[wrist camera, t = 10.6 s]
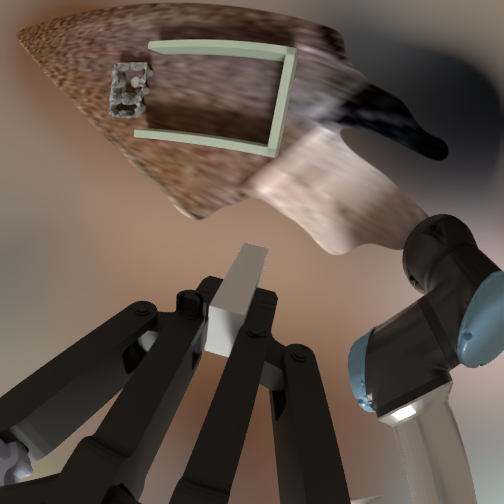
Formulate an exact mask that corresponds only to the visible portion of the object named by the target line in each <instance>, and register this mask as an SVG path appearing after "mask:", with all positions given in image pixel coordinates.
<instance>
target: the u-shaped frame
mask: <svg viewBox="0 0 504 504" xmlns="http://www.w3.org/2000/svg"><path fill="white" fill-rule="evenodd" d="M148 49H151V50H154V51H156V52H159V53H161V54H211V55H228V56H241V57H251V58H259V59H267V60H274V61H281V62H284V66H283V71H282V76H281V82H280V87H279V92H278V97H277V102H276V107H275V112H274V117H273V122H272V127H271V133H270V138H269V143H268V145H267V144H262V143H257V142H252V141H246V140H240V139H234V138H228V137H222V136H215V135H208V134H201V133H193V132H184V131H175V130H165V129H153V128H150V129H138V130H135V131H134V137H140V138H151V139H161V140H170V141H178V142H186V143H194V144H201V145H207V146H214V147H220V148H226V149H232V150H238V151H243V152H249V153H254V154H259V155H264V156H269V157H273V158H275V157H276V156H277V155H279V150H280V145H281V140H282V135H283V130H284V125H285V120H286V115H287V110H288V105H289V100H290V95H291V90H292V85H293V80H294V75H295V70H296V64H297V59H298V56H297V50H296V48H293V47H287V46H280V45H273V44H265V43H256V42H245V41H231V40H166V41H152V42H149V45H148Z"/></svg>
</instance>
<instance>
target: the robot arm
mask: <svg viewBox="0 0 504 504" xmlns="http://www.w3.org/2000/svg"><path fill="white" fill-rule="evenodd" d="M267 254H268V249H267V248H263V247H259V246H255V245H251V244H247V243H244V245H243V246H242V248H241V250H240V252H239V254H238V255H237V257H236V259H235V261H234V262H233V264H232V266H231V268H230V269H229V271H228V273H227V275H226V277H225V278H224V279H220V278H216V277H212V276H209V277H207V278H205V279H203V280H202V282H201V283H200V285H199V286H198V288H197V289H196V290H184V291H181V292H179V293H178V294H177V301H176V311H175V312H158V311H157V308H156V306H155V305H154V304H152V303H150V302H148V301H138V302H135V303H133V304H131V305H130V306H128V307H127V308H125V309H124V310H122V311H121V312H119V313H118V314H116V315H115V316H113V317H112V318H110V319H109V320H108V321H106V322H105V323H103V324H102V325H100V326H99V327H97V328H96V329H95V330H93V331H92V332H90V333H89V334H88V335H86V336H85V337H83V338H82V339H80V340H79V341H77V342H76V343H75V344H73V345H72V346H70V347H69V348H68V349H66V350H65V351H64V352H62V353H61V354H59V355H58V356H56V357H55V358H53V359H52V360H51V361H49V362H48V363H47V364H45V365H44V366H42V367H41V368H40V369H39V370H37V371H35V372H34V373H33V374H32V375H30V376H29V377H27V378H26V379H25V380H23V381H22V382H20V383H19V384H18V385H16V386H15V387H14V388H12V389H11V390H10V391H8V392H7V393H6V394H4V395H3V396H2V397H1V398H0V504H141V503H139V502H138V500H139V498H140V496H141V493H142V491H143V488H144V483H145V478H146V475H147V473H148V471H149V469H150V467H151V464H152V462H153V460H154V458H155V456H156V454H157V452H158V449H159V447H160V445H161V443H162V441H163V439H164V436H165V434H166V432H167V430H168V428H169V426H170V424H171V422H172V419H173V417H174V415H175V413H176V411H177V409H178V406H179V404H180V402H181V400H182V398H183V396H184V394H185V391H186V389H187V387H188V385H189V383H190V381H191V379H192V376H193V375H194V372H195V370H196V368H197V366H198V364H199V362H200V360H201V356H202V349H203V347H204V345H205V350H206V351H209V352H212V353H216V354H219V355H223V356H226V357H229V358H228V361H227V364H226V366H225V369H224V371H223V374H222V376H221V379H220V382H219V384H218V388H217V390H216V393H215V395H214V397H213V400H212V403H211V405H210V408H209V410H208V413H207V416H206V418H205V421H204V423H203V426H202V429H201V431H200V434H199V436H198V439H197V441H196V444H195V447H194V449H193V451H192V454H191V456H190V459H189V461H188V464H187V467H186V469H185V472H184V474H183V476H182V477H181V479H180V480H179V481H178V483H177V485H176V488H175V490H174V492H173V494H172V497H171V499H170V502H169V504H228V500H229V496H230V490H231V486H232V483H233V479H234V476H235V473H236V469H237V466H238V462H239V459H240V455H241V451H242V448H243V444H244V440H245V437H246V433H247V429H248V425H249V422H250V418H251V414H252V410H253V406H254V402H255V398H256V394H257V390H258V386H259V384H261V385H263V386H265V387H267V388H268V389H269V394H270V404H271V413H272V424H273V433H274V444H275V454H276V464H277V474H278V485H279V494H280V504H351V502H350V497H349V493H348V488H347V483H346V479H345V474H344V470H343V466H342V461H341V457H340V452H339V448H338V444H337V440H336V436H335V431H334V427H333V423H332V419H331V415H330V411H329V407H328V404H327V400H326V395H325V392H324V388H323V384H322V380H321V376H320V373H319V369H318V365H317V361H316V358H315V355H314V353H313V351H312V350H311V349H310V348H308V347H306V346H304V345H301V344H291V345H288V346H287V347H286V346H284V345H282V344H280V343H279V342H277V341H276V340H275V339H274V338H273V336H272V334H271V328H272V323H273V318H274V314H275V310H276V305H277V300H278V298H277V295H276V293H275V292H273V291H269V290H265V289H261V288H260V285H261V280H262V275H263V272H264V267H265V263H266V258H267ZM403 268H404V272H405V274H406V276H407V278H408V280H409V282H410V283H411V285H412V286H413V287H414V288H415V289H416V290H417V291H419V292H420V293H422V294H424V296H423V297H421V298H420V299H419V300H417V301H416V302H414V303H413V304H411V305H410V306H408V307H407V308H405V309H404V310H402V311H401V312H399V313H398V314H396V315H395V316H393V317H392V318H390V319H388V320H387V321H385V322H384V323H382V324H380V325H379V326H376V327H373V328H372V329H371V330H370V331H369V332H368V333H367V334H365V335H364V336H362V337H361V338H359V339H358V340H356V341H355V342H354V343H353V345H352V347H351V349H350V352H349V356H348V374H349V380H350V384H351V387H352V390H353V393H354V396H355V398H356V399H358V403H359V405H360V406H361V407H362V408H363V409H364V410H365V411H367V412H376V413H377V417H378V419H379V421H381V422H384V423H386V424H389V425H390V426H392V427H393V430H394V434H395V437H396V440H397V443H398V447H399V450H400V454H401V457H402V460H403V464H404V468H405V472H406V475H407V479H408V483H409V487H410V491H411V495H412V499H413V504H477V501H476V495H475V490H474V486H473V481H472V477H471V472H470V468H469V464H468V460H467V456H466V453H465V449H464V445H463V442H462V439H461V435H460V432H459V429H458V426H457V423H456V420H455V417H454V414H453V411H452V408H451V406H450V403H449V398H448V396H449V394H450V391H451V388H452V386H453V380H452V378H451V375H450V373H449V371H450V370H451V369H453V368H455V367H456V366H457V365H459V364H461V363H462V364H464V365H465V366H467V367H469V368H477V367H478V366H479V365H480V366H484V365H486V364H487V363H489V362H491V361H492V360H494V359H495V358H496V357H497V356H498V355H499V354H500V353H501V352H502V351H503V350H504V272H503V271H502V270H501V269H500V268H499V267H498V266H497V265H496V264H495V263H494V262H492V260H490V259H489V258H488V257H487V256H486V255H485V254H484V253H483V252H482V251H481V250H479V249H478V247H477V244H476V242H475V239H474V237H473V234H472V233H471V231H470V229H469V228H468V227H467V226H466V224H464V223H463V222H462V221H461V220H459V219H458V218H456V217H454V216H451V215H447V214H440V215H434V216H432V217H429V218H427V219H425V220H424V221H422V222H421V223H420V224H419V225H418V226H417V227H416V228H415V229H414V230H413V231H412V233H411V234H410V236H409V237H408V239H407V242H406V244H405V247H404V251H403ZM122 388H123V390H122V392H121V393H120V395H119V396H118V398H117V399H116V401H115V402H114V404H113V405H112V407H111V409H110V410H109V412H108V413H107V415H106V416H105V418H104V420H103V421H102V423H101V424H100V426H99V428H98V429H97V431H96V432H95V433H94V434H93V435H92V436H88V437H85V438H83V439H82V440H81V441H80V442H79V444H78V445H77V447H76V448H75V450H74V452H73V453H72V455H71V456H70V458H69V459H68V461H67V463H66V464H65V466H64V468H63V469H62V471H61V473H58V474H54V475H50V476H47V477H43V478H39V479H34V480H30V481H25V482H21V483H19V482H20V480H21V479H22V478H23V477H25V476H30V475H31V474H32V471H33V470H32V467H31V463H32V462H35V461H37V460H39V459H41V458H43V457H44V456H46V455H48V454H49V453H50V452H52V451H53V450H54V449H55V448H56V447H58V446H59V445H60V444H61V443H62V442H63V441H64V440H65V439H67V438H68V437H69V436H70V435H71V434H72V433H73V432H75V431H76V430H77V429H78V428H79V427H80V426H81V425H83V424H84V423H85V422H86V421H87V420H88V419H89V418H90V417H91V416H93V415H94V414H95V413H96V412H97V411H98V410H99V409H100V408H102V407H103V406H104V405H105V404H106V403H107V402H108V401H109V400H110V399H112V398H113V397H114V396H115V395H116V394H117V393H118V392H119V391H120V390H121V389H122Z"/></svg>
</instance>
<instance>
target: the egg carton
mask: <svg viewBox="0 0 504 504" xmlns="http://www.w3.org/2000/svg"><path fill="white" fill-rule="evenodd" d="M128 68H130V69H132V70H136V71H139V70H141V69H143V68H144V69H145V73H144V75H143V76H142V77H139V76H135V77H133V78H132V80H131V86H132V87H134V88H135V87H138V86H141V87H142V89H141V91H142V92H141V91H140V92H139V94H137V95H136V94H135V93H128V92H123V93H120V92H121V88H122V87H124V86H125V84H126V78H125V77H124V76H123V75H124V72H125V71H126V70H128ZM152 75H153V71H152V70H150V68H149V65H147V63H136V62H129V63H115V64H114V68H113V72H112V78H111V79H113V81H112V85H111V94H110V112H109V116H112V117H122V118H133V117H139V115H140V114H141V113H142V112H145V110H146V106H144V105H143V104H142V98H143V96H144V95H146V94H148V93H149V88H148V87H146V84H145V82H146V80H147V78H148V77H150V76H152ZM121 102H122V103H123V104H124V105H133V104H135V105H137V107H136V108H135V109H134V111H135V113H134V112H133V111H131V110H121V111H119V110H117V106H118V104H120V103H121Z"/></svg>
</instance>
